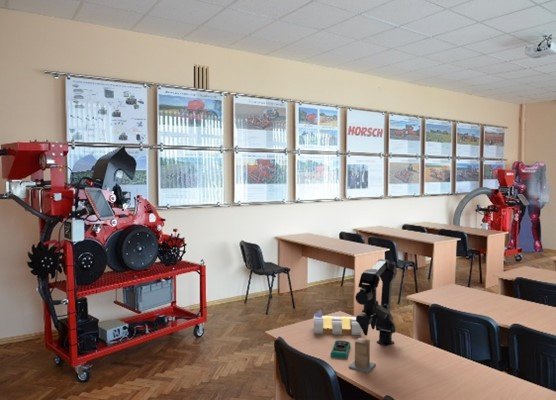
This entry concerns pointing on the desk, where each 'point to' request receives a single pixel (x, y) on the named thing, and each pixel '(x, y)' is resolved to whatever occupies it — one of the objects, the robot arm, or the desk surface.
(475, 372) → the desk surface
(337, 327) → the grey yellow long block
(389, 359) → the desk surface
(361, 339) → the walnut block
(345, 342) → the digital multimeter
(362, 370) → the grey pad
